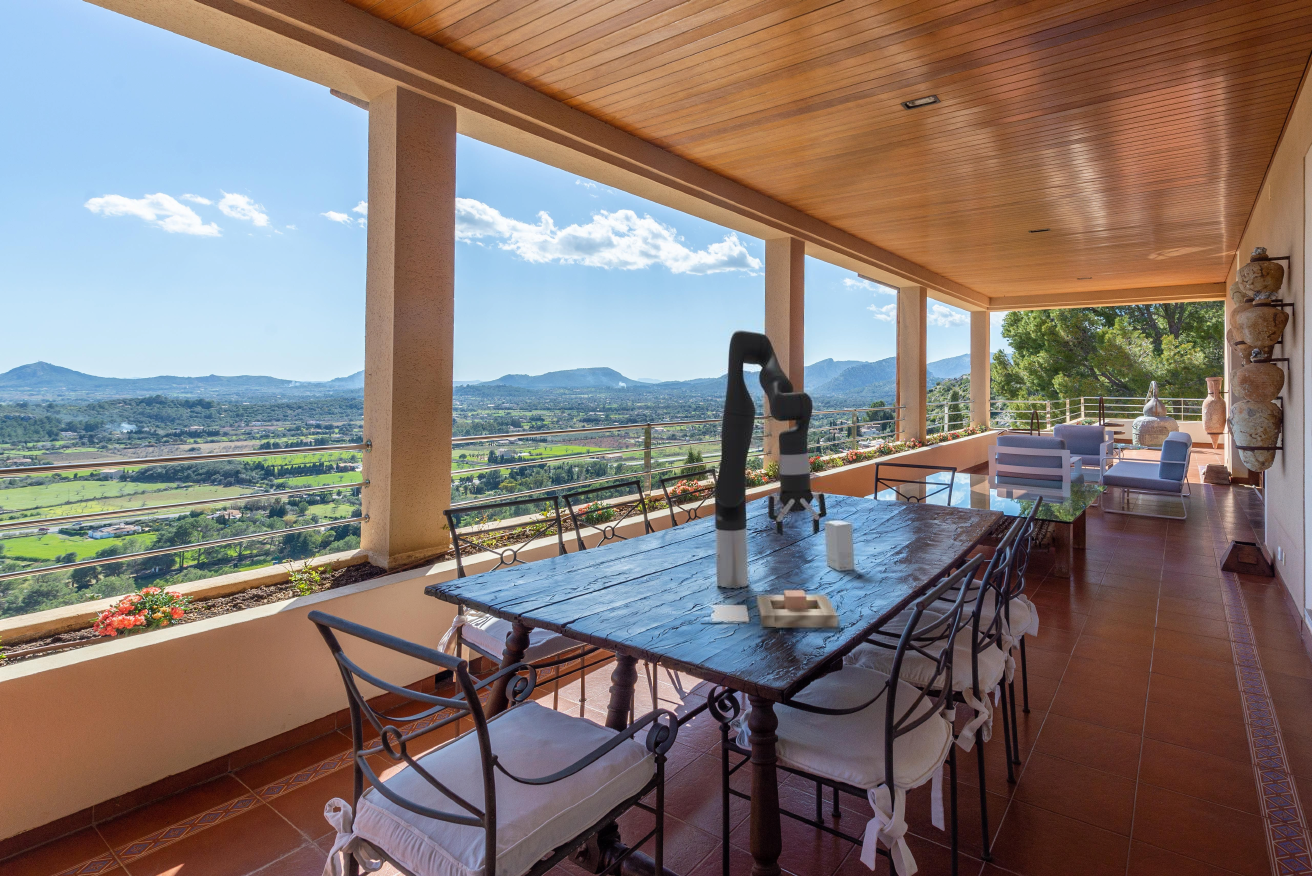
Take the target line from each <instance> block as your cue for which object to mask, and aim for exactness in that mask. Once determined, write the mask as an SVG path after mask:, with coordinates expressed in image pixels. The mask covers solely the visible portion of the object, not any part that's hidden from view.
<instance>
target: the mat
mask: <svg viewBox="0 0 1312 876" xmlns="http://www.w3.org/2000/svg"><path fill="white" fill-rule="evenodd" d="M709 606H711V607H713V608H715V609H713V610H715V613H712V614H711V618H713V620H712V621H723V622H724V621H728V622H730V621H731V622H748V623H747V624H750V618H749V613H748V607H747V605H746V604H745V605H742V604H737V605H736V604H734V605H733V604H732V605H725V604H724V605H722V604H721V605H714V604H713V605H709Z"/></svg>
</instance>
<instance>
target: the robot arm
mask: <svg viewBox="0 0 1312 876" xmlns="http://www.w3.org/2000/svg"><path fill="white" fill-rule="evenodd" d="M727 364H728V366H727V384H726V391H725V392H726V393H725V401H724V407H723V413H722V423H721V435H720V436H721V437H720V440H721V441H720V442H721V448H720V449H721V456H720V457H721V458H720V465H719V470H718V474H717V475H718V476H717V479H716V480H715V481H716V482H715V484H714V488H713V492H714V507H715V508H714V509H715V510H714V514H715V515H714V523H715V556H716V557H715V559H716V560H715V561H716V587H717V586H722V587H721V588H723V587H728V588H727V589H731V588H734V589H741V588H740V587H742V588H745V587H747V586H749V574H748V572H749V571H748V569H749V568H748V539H747V538H748V537H747V536H748V535H747V534H748V532H747V531H748V529H747V500H746V499H747V495H746V494H747V493H746V488H747V487H746V469H747V461H748V459H747V458H748V455H749V451H750V447H751V442H752V438H753V432H754V426H755V420H756V419H755V418H756V417H755V416H756V408H755V407H756V406H755V403H754V401H753V398H752V396H751V394H750V392H749V390H748V387H747V386H746V382H745V378H744V377H745V376H744V364H746V365H747V364H748V365H758V366H759V367H761V369H760V372H759V375H758V381H759V384H760V387H761V388H762V390H763V391H764V393H765V395H766V396H767V399H768V404H769V412H770V416H771V417H772V418H773V419H774V420H775V421H778V422H792V421H794V425H793V427H792V428H789V429H787V430H783V431H781V432H780V433H779V434H778V447H779V448H778V449H779V459H778V460H779V461H778V462H779V463H778V466H779V467H778V471H779V483H780V494H779V495H773V494H769V495H768V499H767V500H768V506H767V507H768V513H767V514H768V518H769V519H770V520H773V521H775V524H776V525H775V527H776V532H777V534H778V535H779V536H780V537H783V536H784V533H783V532H784V530H783V520H782V519H784V517H785V516H786V515H787V513H789V512H791V513H793V512H794V513H795V512H804V511H806V510H807V511H808V513H810V515H811V516H812V520H811V522H812V534H813V535H818V533H819V532H820V519H821V518H825V517H826V516H827V510H826V509H827V508H826V500H825V494H824V493H823V492H822V491H819V492H818V493H813V492H812V488H811V485H812V484H811V468H810V467H811V466H810V459H809V458H810V457H809V454H808V452H809V451H808V450H809V449H808V433H809V428H810V423H811V418H812V414H813V400H812V398H811V396H810V395H809V394H808V393H807V392H804V391H801V392H799V391H797V392H794V386H793V384H792V382H791V380H790V379H789V378H788V376H787V375H786V373H785V372H784V370H783V369H782V367H781V366H780V363H779V361H778V357H777V355H776V353H775V350H774V347H773V345H772V342H771V340H770V339H769V337H768V336H767V335H766V334H764V333H760V332H753V331H749V330H748V331H747V330H741V329H740V330H739V329H738V330H736V331H734V332H733V334H732V336H731V338H730V342H729V348H728V363H727ZM813 500H815V501H816V502H817V503H818V508H819V509H818V510H819V511H818V512H816V511H815V510H814V509H813V507H812V506H811V505H810V504H811V502H813ZM778 501H780V502H781V504H782V506H781V508H780V509H779V511H778V513H777V514H775V505H777V503H778Z"/></svg>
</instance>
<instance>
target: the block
mask: <svg viewBox="0 0 1312 876" xmlns="http://www.w3.org/2000/svg"><path fill="white" fill-rule="evenodd" d="M783 595H784V609H807V599H806V595H807V594H806V593H805V590H801V589H800V590H799V589H798V590H795V589H793V590H787V589H786V590H783Z"/></svg>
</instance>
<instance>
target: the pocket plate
mask: <svg viewBox="0 0 1312 876" xmlns="http://www.w3.org/2000/svg"><path fill="white" fill-rule="evenodd" d="M756 596H757V597H756V599H757V610H759V611H758V615H759V618H760V619H759V620H760V624H761V628H762V627H776V628H838V627H839V626H838V625H839V624H838V623H839V621H838V620H839V619H838V617H839V616H838V613H837V612H836V610H835V608H834V606H833V605H832V603H831V602H830V600H829V598H828V596H827V594H806V599H807V609H784V594H762V595H761V594H758V595H756Z"/></svg>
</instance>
